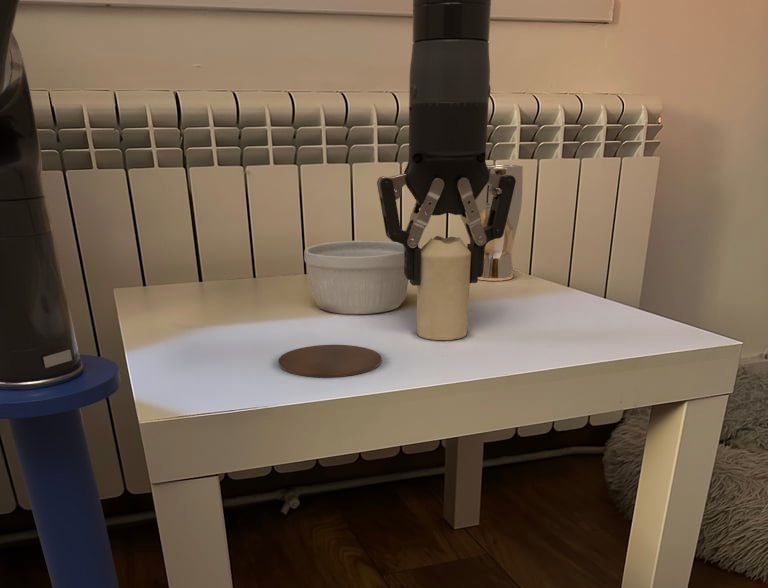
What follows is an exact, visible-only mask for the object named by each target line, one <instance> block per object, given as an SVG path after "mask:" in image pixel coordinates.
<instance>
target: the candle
mask: <svg viewBox="0 0 768 588" xmlns="http://www.w3.org/2000/svg"><path fill="white" fill-rule="evenodd" d="M420 249H421V269H420V285H418V286H417V287H416V295H417V296H416V299H417V300H416V334H417V336H419V337H421V338H423V339H426V340H433V341H434V340H435V341H451V340H459V339H463V338H464V337H465V338H466V336H467V335H468V327H469V325H468V323H469V306H470V305H469V304H470V284H471V283H470V265H471V252H470V251H469V249H468V248H467V245H466V243H464V242H463V240H462V239H461V237H456V236H448V237H442V236H440V235H435V236H434V237H433V238H432V237H431V238H430V239H429V240H428V242H426V243H425V244H424V245H423V246H422V247H421V248H420Z"/></svg>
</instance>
